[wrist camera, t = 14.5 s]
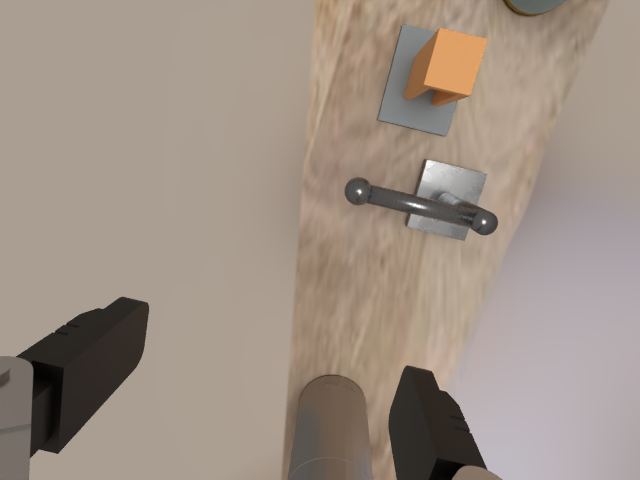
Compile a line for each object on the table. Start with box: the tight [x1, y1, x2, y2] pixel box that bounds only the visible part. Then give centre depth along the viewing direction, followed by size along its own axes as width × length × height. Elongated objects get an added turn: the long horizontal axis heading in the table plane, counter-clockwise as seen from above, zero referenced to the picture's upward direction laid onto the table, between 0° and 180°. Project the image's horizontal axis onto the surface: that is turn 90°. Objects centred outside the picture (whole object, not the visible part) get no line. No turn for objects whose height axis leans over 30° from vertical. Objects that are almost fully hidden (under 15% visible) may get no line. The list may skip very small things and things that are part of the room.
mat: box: [378, 24, 458, 136], centre depth 43 cm, size 10×8×1 cm
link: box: [403, 28, 488, 107], centre depth 37 cm, size 4×4×11 cm
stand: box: [345, 159, 498, 241], centre depth 39 cm, size 8×16×14 cm, turn 77°
